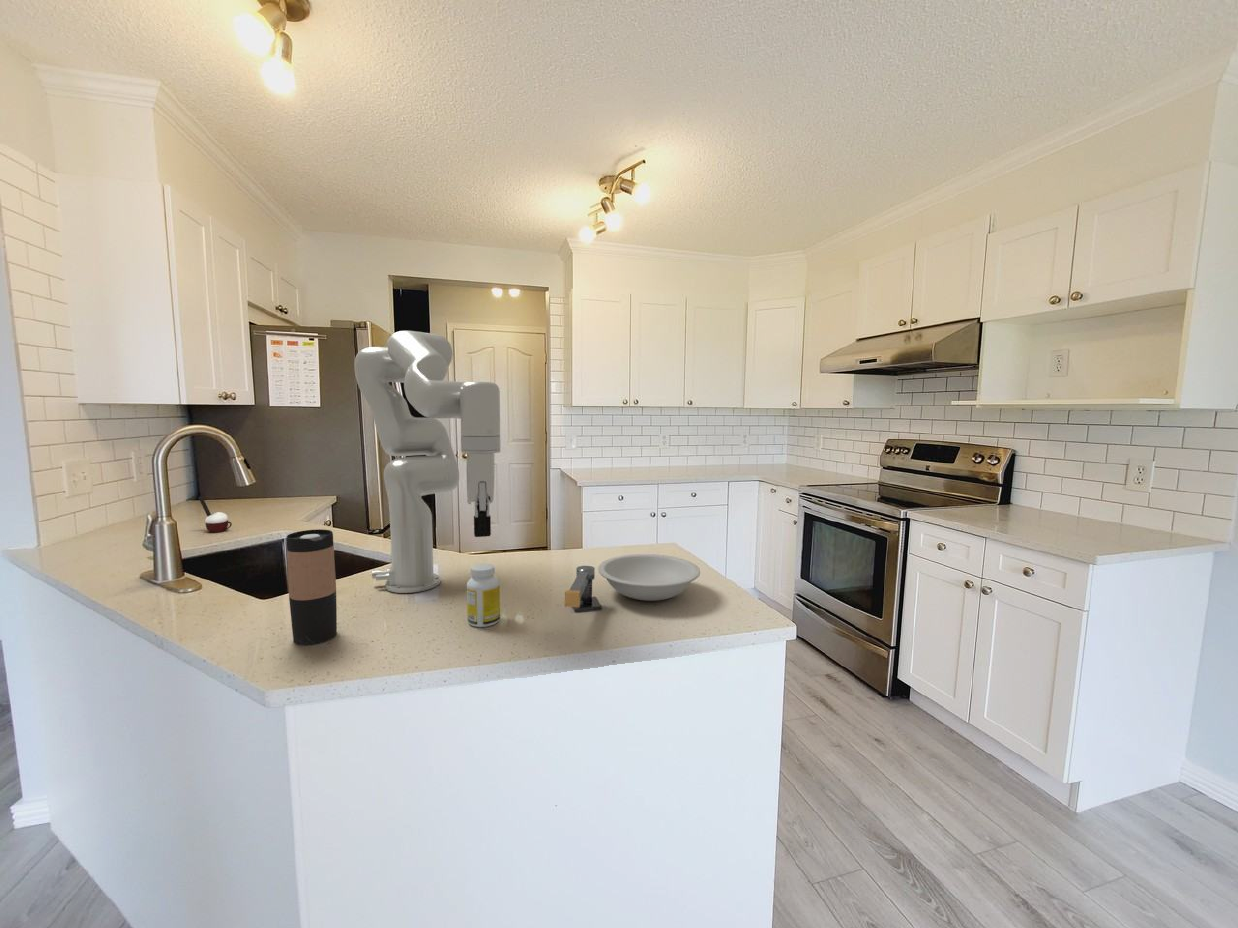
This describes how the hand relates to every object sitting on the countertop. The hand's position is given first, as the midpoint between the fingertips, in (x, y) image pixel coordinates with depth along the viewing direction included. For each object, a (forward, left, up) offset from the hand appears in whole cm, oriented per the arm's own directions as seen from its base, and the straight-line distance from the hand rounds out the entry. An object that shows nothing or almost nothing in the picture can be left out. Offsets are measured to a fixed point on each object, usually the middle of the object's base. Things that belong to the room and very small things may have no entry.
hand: (482, 535), depth 104 cm
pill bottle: (0, 0, -18) cm, 18 cm away
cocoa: (-86, +101, -18) cm, 134 cm away
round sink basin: (+38, +6, -18) cm, 43 cm away
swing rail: (+19, -3, -12) cm, 23 cm away
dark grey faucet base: (+22, +3, -18) cm, 29 cm away
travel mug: (-31, +1, -18) cm, 36 cm away
